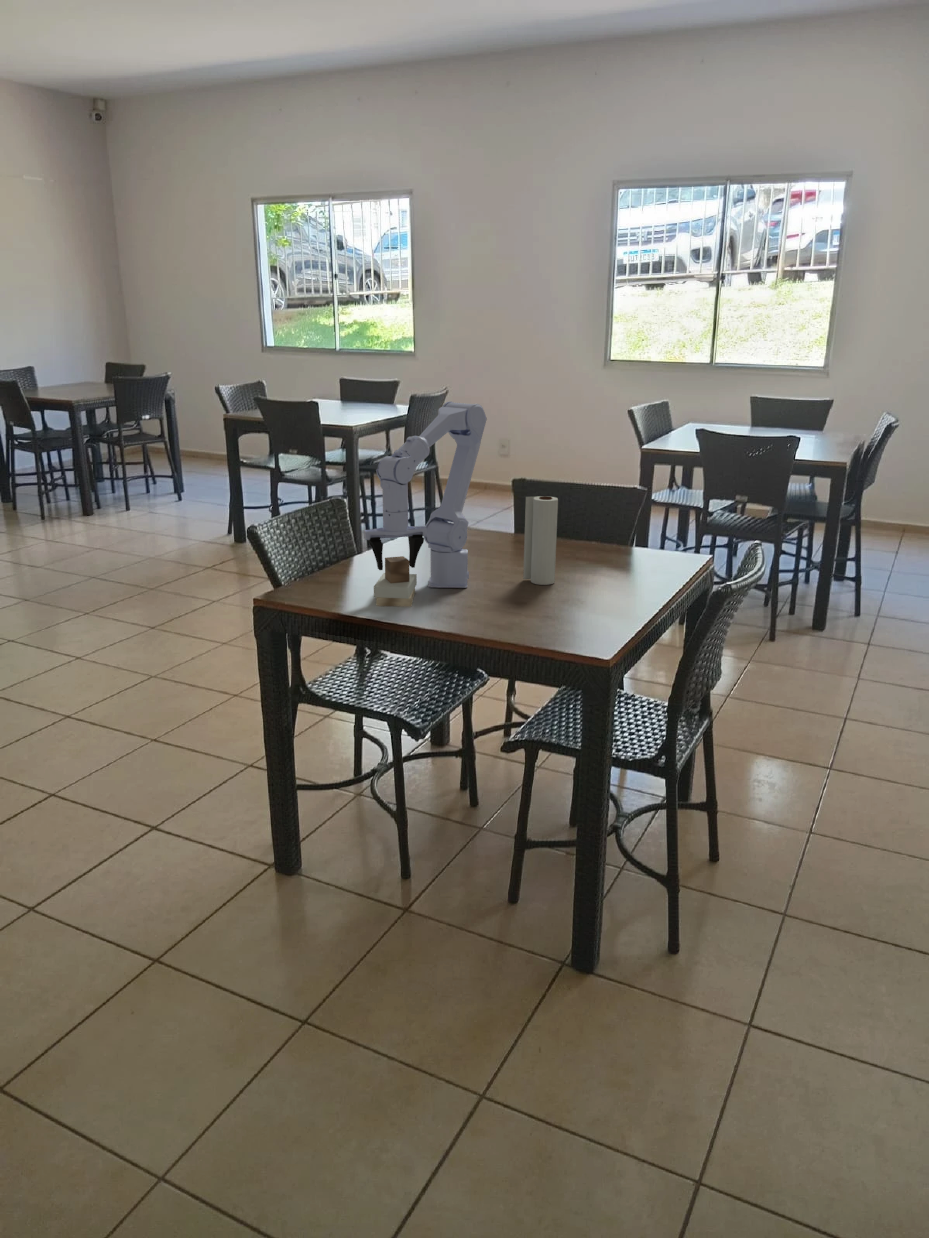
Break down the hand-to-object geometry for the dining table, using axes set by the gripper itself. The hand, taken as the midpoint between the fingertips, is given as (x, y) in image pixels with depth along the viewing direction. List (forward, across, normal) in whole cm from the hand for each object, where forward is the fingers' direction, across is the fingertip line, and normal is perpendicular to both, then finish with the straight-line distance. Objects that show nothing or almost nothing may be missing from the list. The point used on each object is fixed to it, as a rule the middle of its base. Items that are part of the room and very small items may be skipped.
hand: (396, 567), depth 213 cm
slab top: (+6, 0, 0) cm, 6 cm away
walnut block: (+3, 0, 0) cm, 3 cm away
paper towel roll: (+8, -38, -3) cm, 39 cm away
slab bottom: (+8, 0, 0) cm, 8 cm away
